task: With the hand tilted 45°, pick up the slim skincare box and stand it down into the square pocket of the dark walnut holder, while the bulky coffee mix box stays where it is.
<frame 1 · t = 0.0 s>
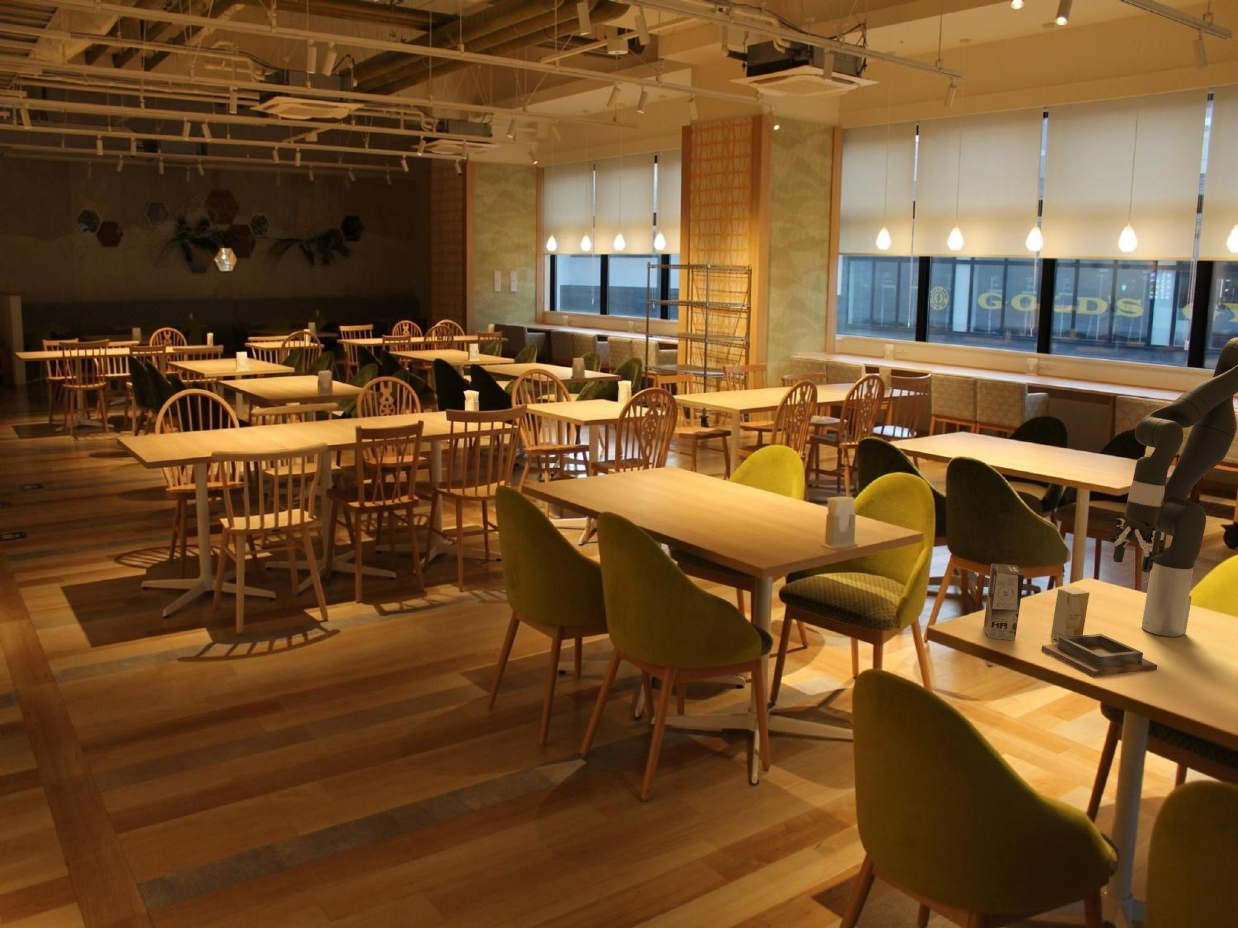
hand: (1131, 566, 259), 17 cm above the table, tool pointing down, fingers open, 8 cm apart
skincare box: (1066, 640, 256), on the table
coffee box: (999, 634, 258), on the table
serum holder: (1098, 659, 243), on the table
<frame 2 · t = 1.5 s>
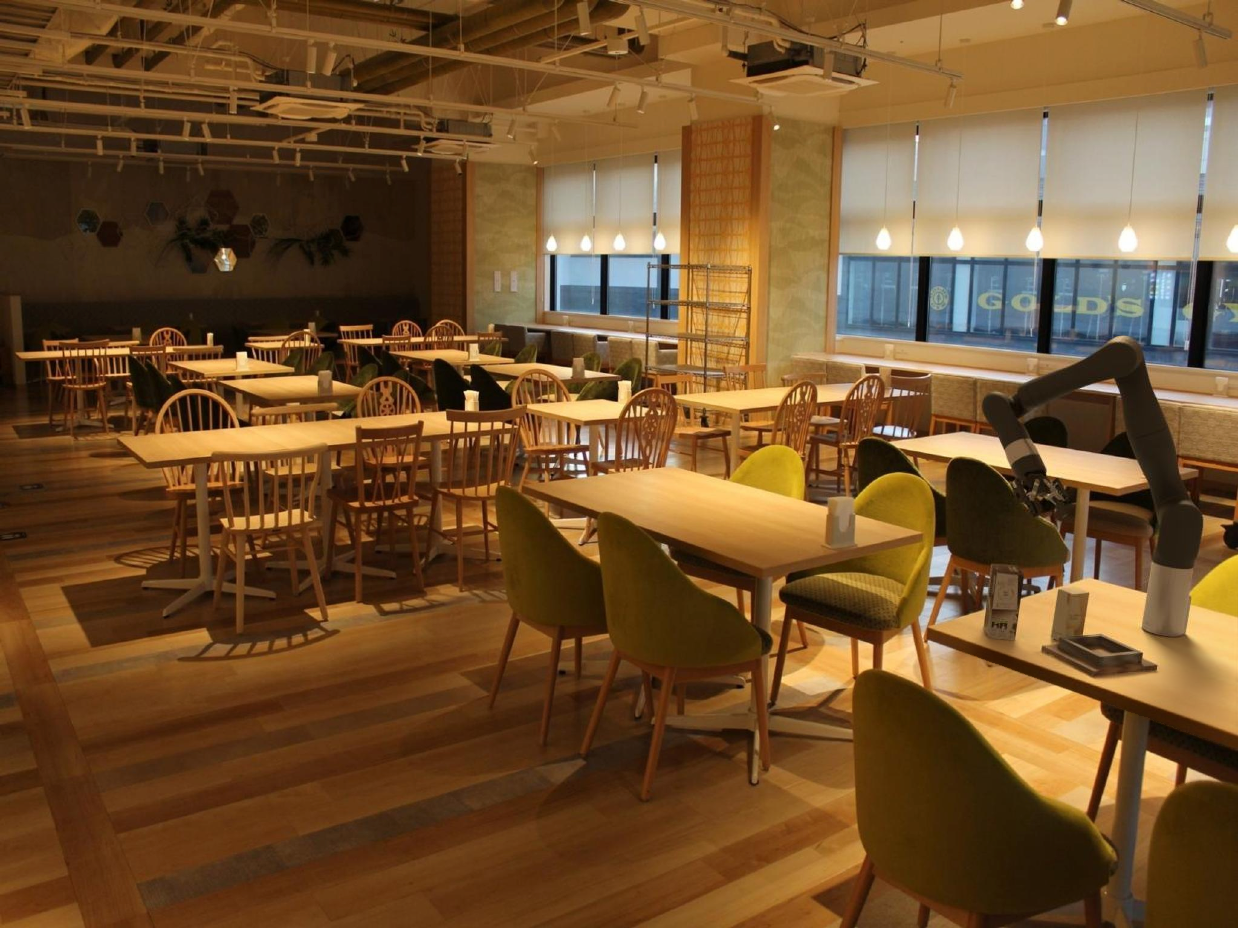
hand: (1051, 516, 263), 27 cm above the table, tool tilted 45°, fingers open, 8 cm apart
nothing on the table moved.
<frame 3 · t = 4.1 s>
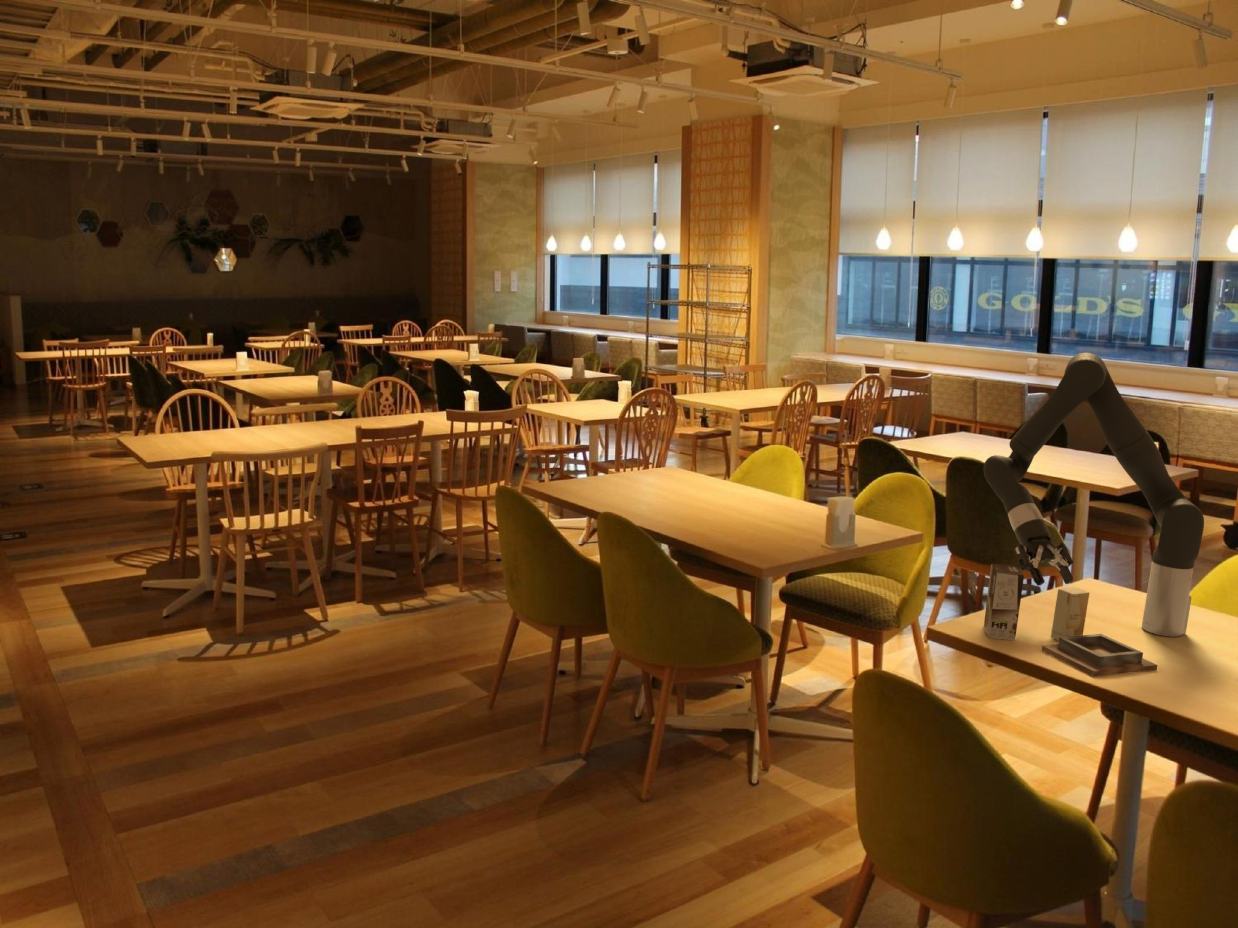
hand: (1055, 583, 259), 12 cm above the table, tool tilted 45°, fingers open, 8 cm apart
nothing on the table moved.
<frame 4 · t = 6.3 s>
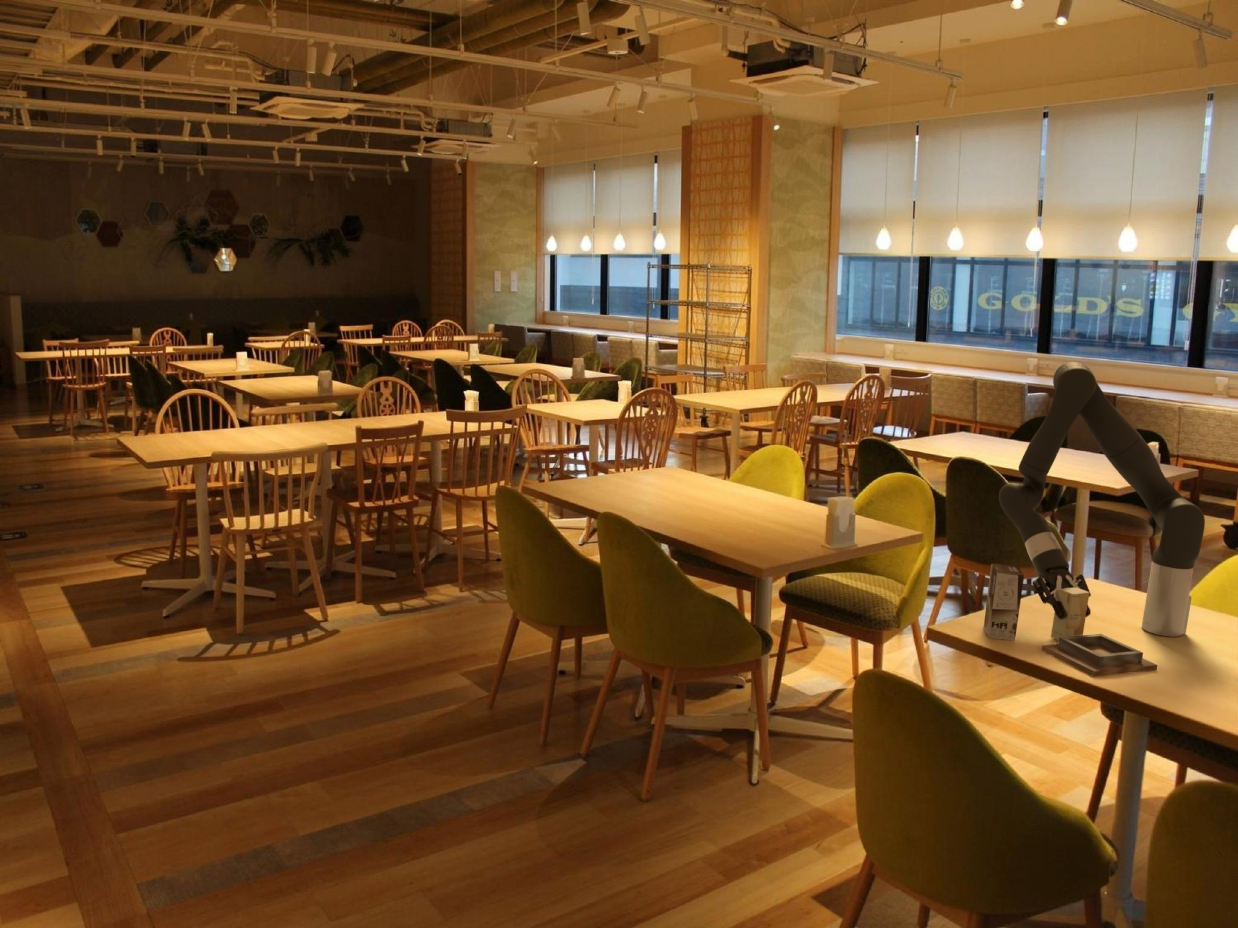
hand: (1075, 616, 253), 6 cm above the table, tool tilted 45°, fingers closed on skincare box, 6 cm apart
skincare box: (1066, 639, 256), on the table, touching gripper
everything else where it was.
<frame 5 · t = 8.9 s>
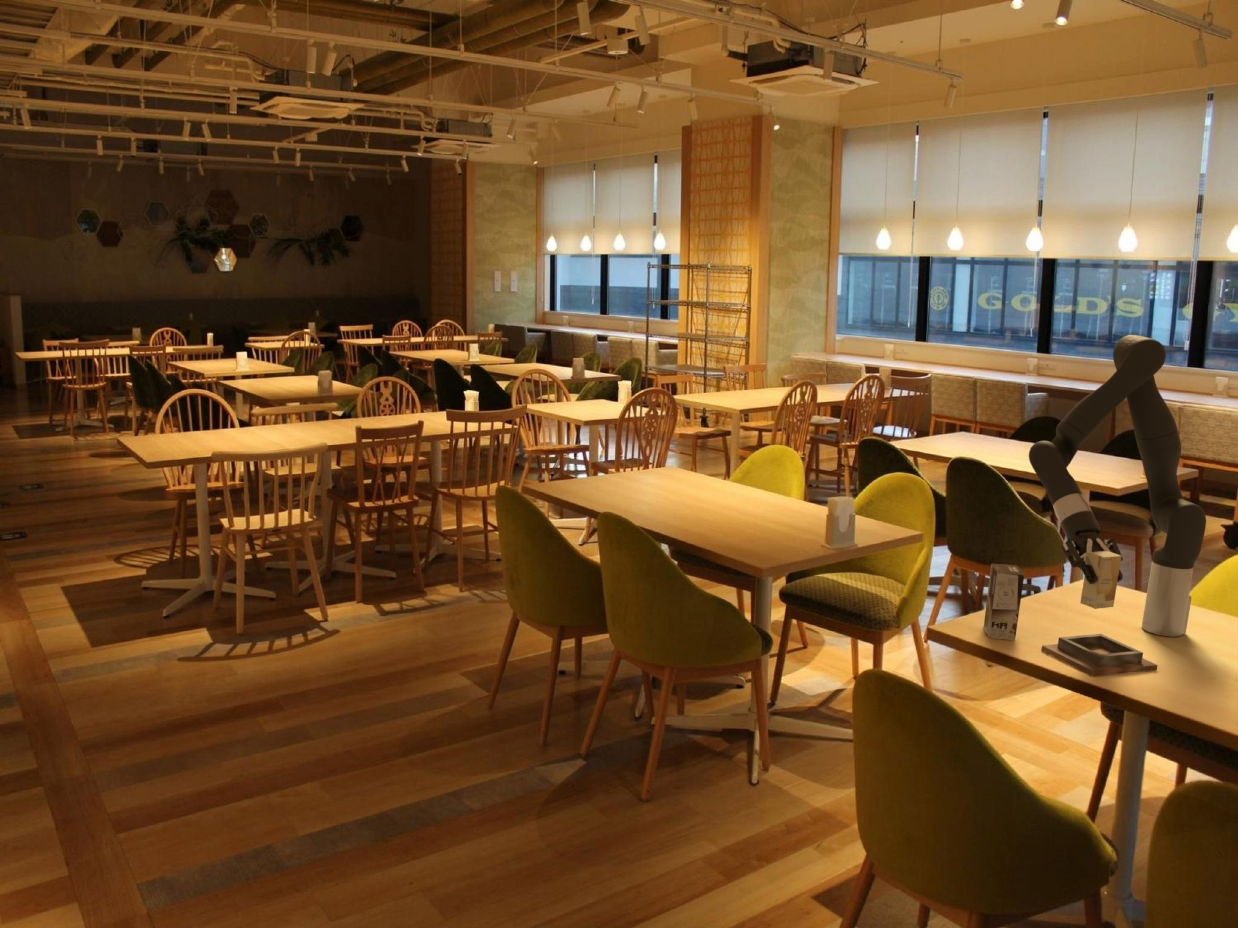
hand: (1106, 581, 241), 18 cm above the table, tool tilted 45°, fingers closed on skincare box, 6 cm apart
skincare box: (1097, 606, 244), point 12 cm above the table, touching gripper
everything else where it was.
when the fingers open (8 cm above the table, at t = 11.9 s): skincare box stays where it is, resting on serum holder.
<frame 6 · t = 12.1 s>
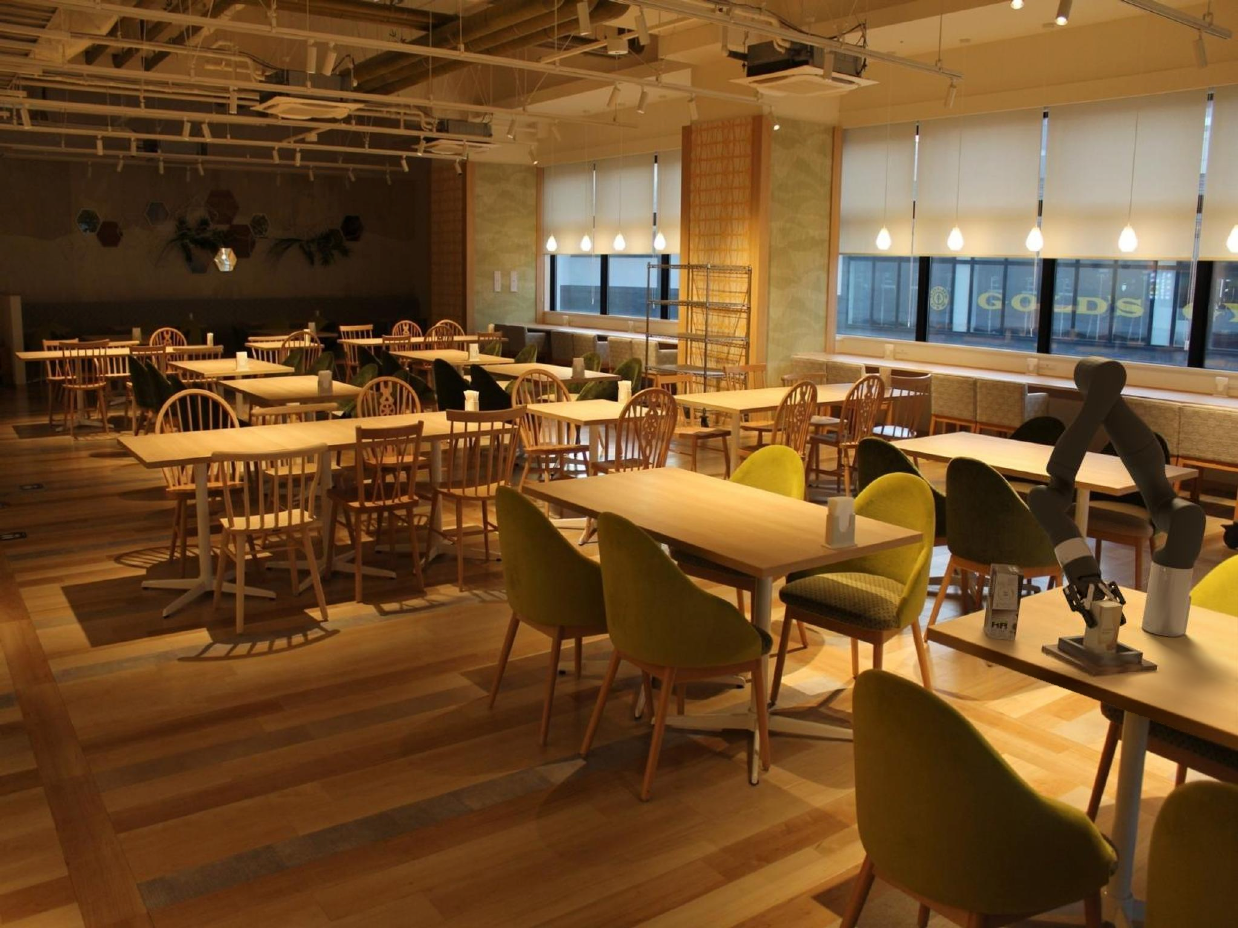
hand: (1108, 625, 240), 9 cm above the table, tool tilted 45°, fingers open, 8 cm apart
skincare box: (1098, 655, 243), point 1 cm above the table, touching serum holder
everything else where it was.
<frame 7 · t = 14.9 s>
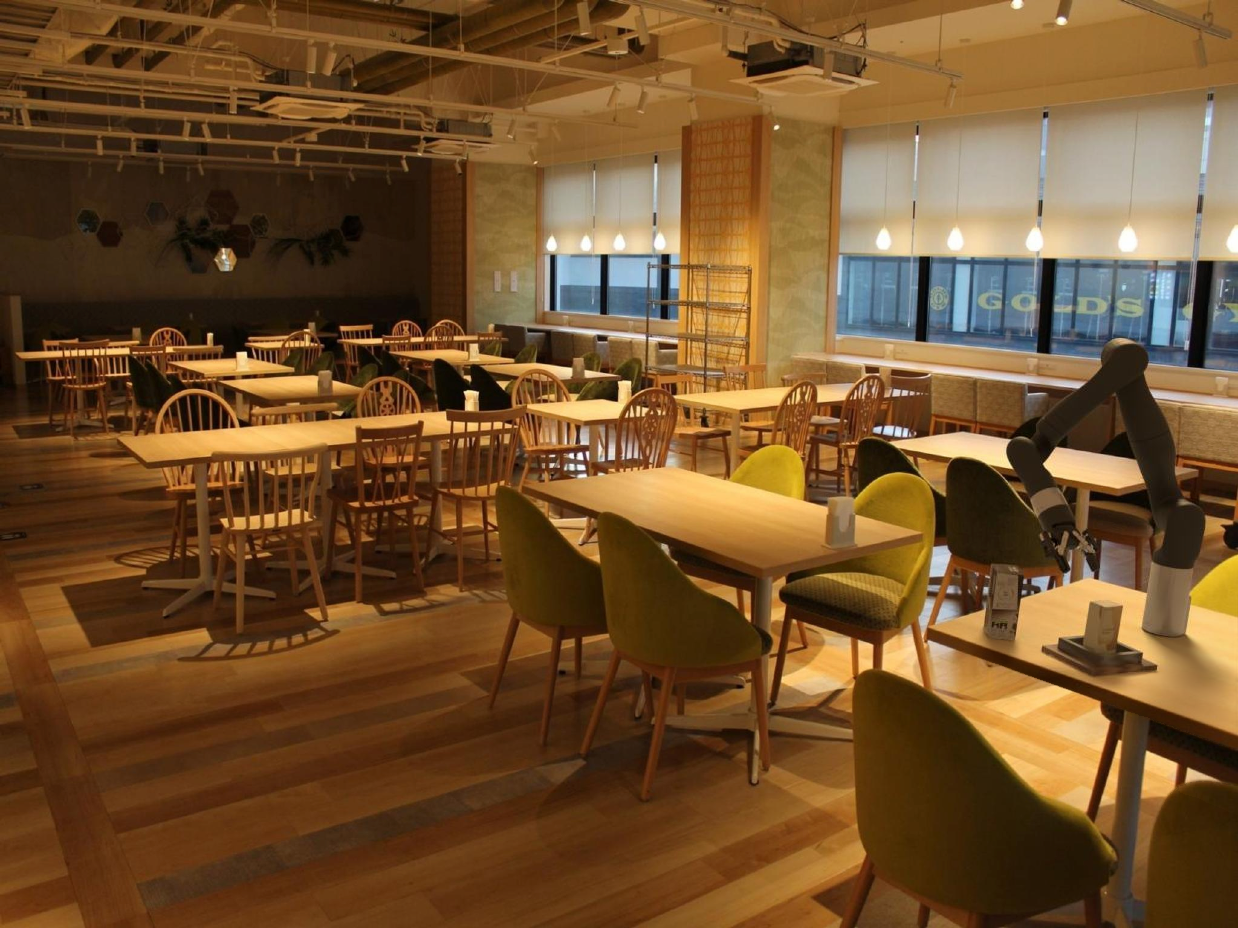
hand: (1081, 571, 247), 18 cm above the table, tool tilted 45°, fingers open, 8 cm apart
nothing on the table moved.
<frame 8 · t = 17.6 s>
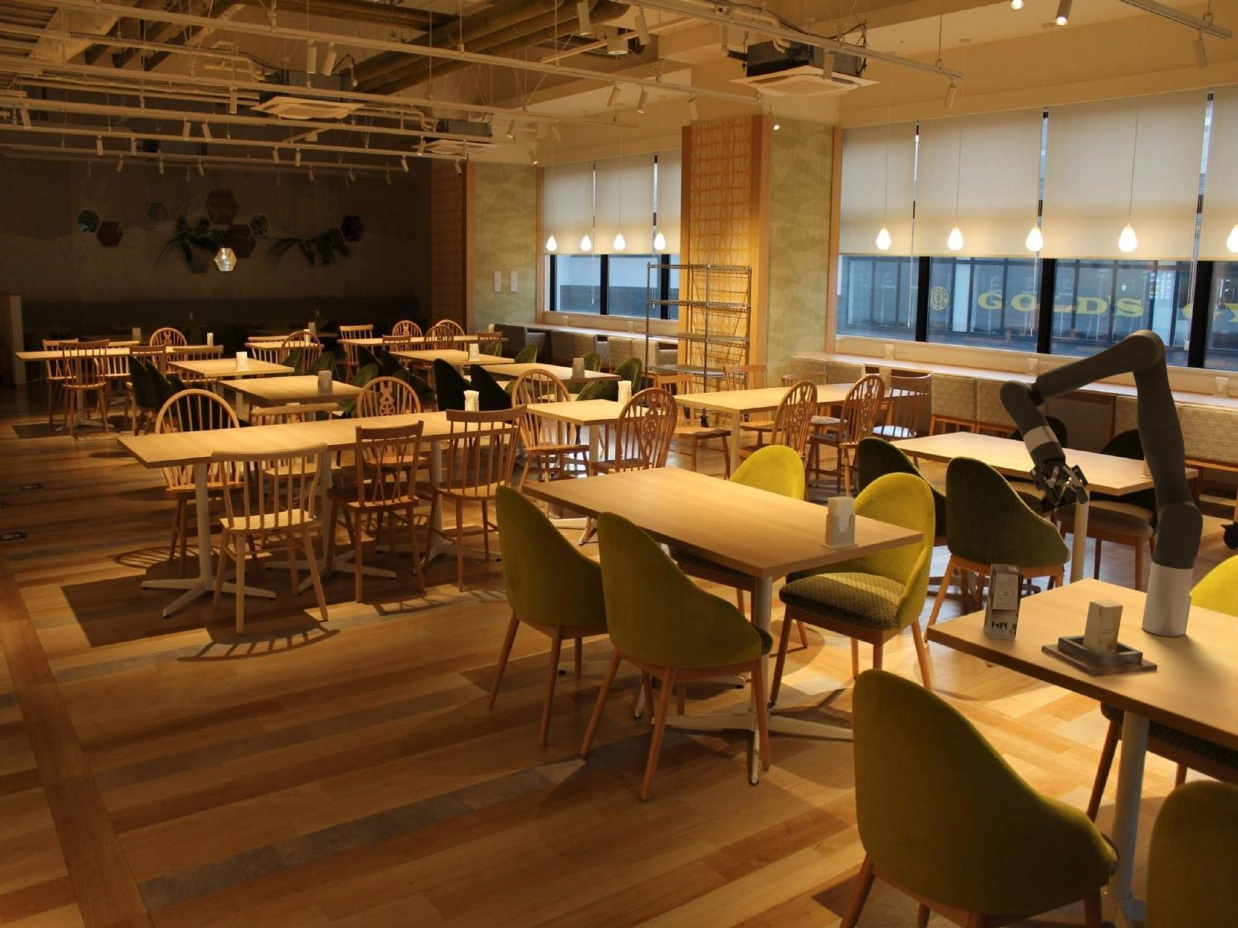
hand: (1071, 503, 262), 31 cm above the table, tool tilted 45°, fingers open, 8 cm apart
nothing on the table moved.
at the end: skincare box 0.2 cm off-centre on the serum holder, point 1.0 cm above the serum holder's base; skincare box tilted 0°; the gripper is holding nothing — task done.
